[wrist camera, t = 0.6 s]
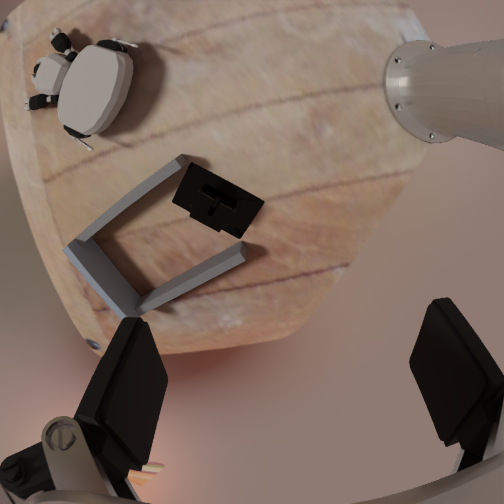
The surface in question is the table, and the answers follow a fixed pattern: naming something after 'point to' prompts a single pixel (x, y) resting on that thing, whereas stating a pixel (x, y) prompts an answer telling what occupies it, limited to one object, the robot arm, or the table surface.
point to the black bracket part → (216, 201)
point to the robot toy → (83, 84)
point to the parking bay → (112, 281)
